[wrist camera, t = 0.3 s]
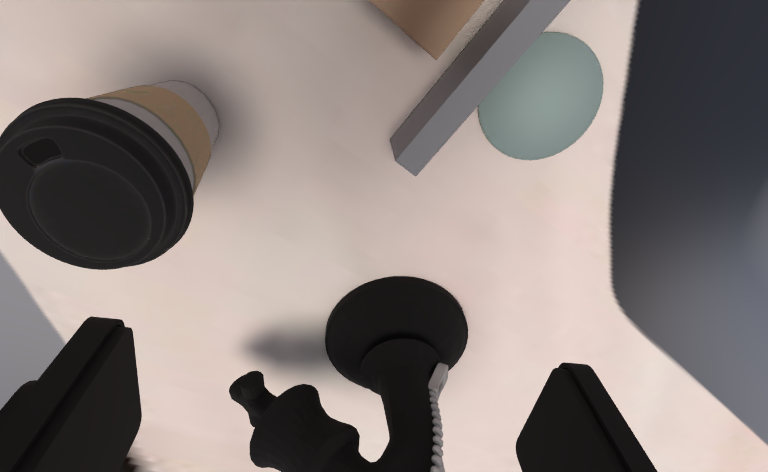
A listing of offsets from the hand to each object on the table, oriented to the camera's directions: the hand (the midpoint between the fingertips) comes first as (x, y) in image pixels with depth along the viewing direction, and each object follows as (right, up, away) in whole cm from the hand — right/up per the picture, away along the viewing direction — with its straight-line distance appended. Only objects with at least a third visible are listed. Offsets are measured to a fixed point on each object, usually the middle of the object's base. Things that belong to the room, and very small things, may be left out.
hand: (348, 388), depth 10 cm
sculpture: (-2, -7, +38) cm, 38 cm away
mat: (+13, +14, +26) cm, 32 cm away
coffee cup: (-15, +13, +25) cm, 32 cm away
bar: (+8, +18, +24) cm, 31 cm away
